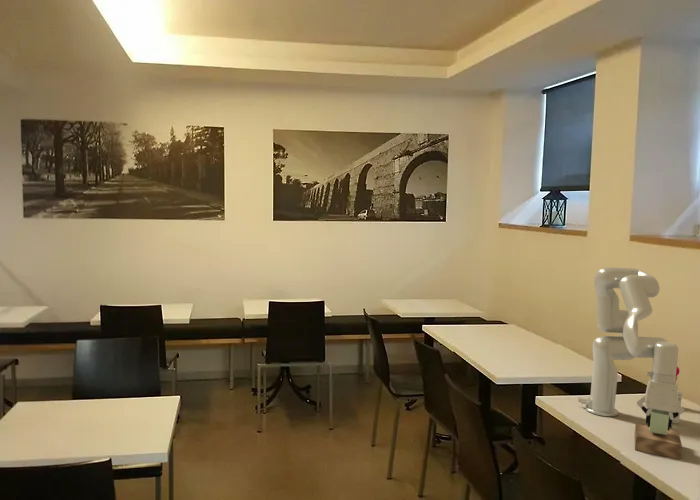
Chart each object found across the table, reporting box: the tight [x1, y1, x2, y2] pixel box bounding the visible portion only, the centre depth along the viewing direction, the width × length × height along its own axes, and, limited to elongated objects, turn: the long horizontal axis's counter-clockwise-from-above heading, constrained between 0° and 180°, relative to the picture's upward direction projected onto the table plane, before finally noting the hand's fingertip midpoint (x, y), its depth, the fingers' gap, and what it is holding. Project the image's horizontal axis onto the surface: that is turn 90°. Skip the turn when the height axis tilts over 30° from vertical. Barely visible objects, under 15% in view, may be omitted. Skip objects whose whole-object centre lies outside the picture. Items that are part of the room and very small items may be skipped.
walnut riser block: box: [633, 423, 683, 460], centre depth 216 cm, size 14×14×5 cm
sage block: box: [649, 409, 669, 435], centre depth 216 cm, size 6×6×7 cm
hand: (658, 427), depth 216 cm, fingers closed on sage block, 5 cm apart
